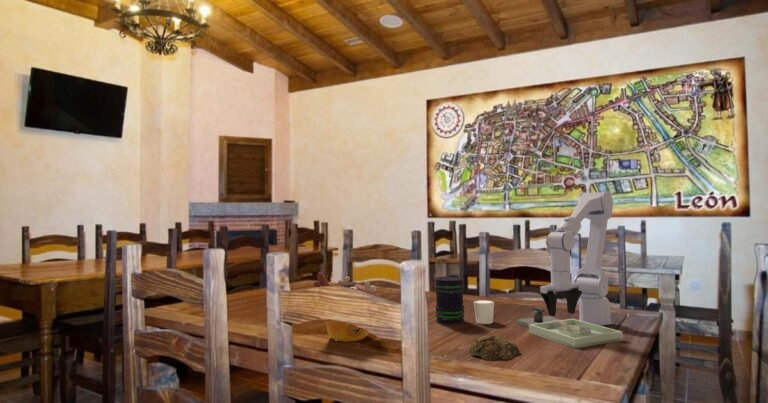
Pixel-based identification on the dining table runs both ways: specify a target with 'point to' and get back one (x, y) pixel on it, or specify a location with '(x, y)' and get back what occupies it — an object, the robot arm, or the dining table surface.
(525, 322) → the base
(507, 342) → the brown lumpy mound
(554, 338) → the tray
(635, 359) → the dining table surface
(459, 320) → the storage jar
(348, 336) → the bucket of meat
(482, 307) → the shot glass
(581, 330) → the ring
